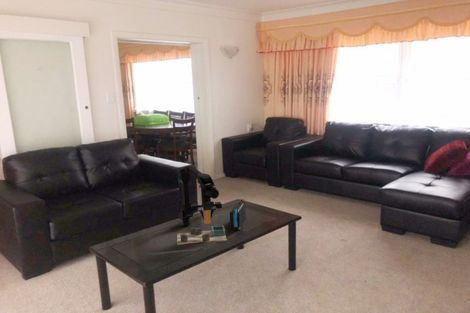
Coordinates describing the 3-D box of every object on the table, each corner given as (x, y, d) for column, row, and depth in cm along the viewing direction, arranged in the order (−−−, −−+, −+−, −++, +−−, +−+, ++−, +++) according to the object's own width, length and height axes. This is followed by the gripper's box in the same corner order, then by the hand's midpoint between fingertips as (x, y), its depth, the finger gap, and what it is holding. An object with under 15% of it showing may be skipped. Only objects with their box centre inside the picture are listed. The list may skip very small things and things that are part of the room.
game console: (238, 232, 238) (237, 211, 235) (228, 231, 239) (227, 210, 236) (247, 217, 264) (246, 198, 262) (238, 217, 266) (238, 197, 263)
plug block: (204, 221, 231) (203, 207, 230) (210, 221, 232) (209, 207, 230) (204, 223, 227) (203, 209, 226) (210, 223, 228) (210, 209, 226)
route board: (177, 235, 237) (176, 227, 236) (223, 230, 241) (223, 223, 240) (177, 246, 220) (176, 238, 220) (226, 241, 225) (226, 233, 224)
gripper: (191, 200, 217) (192, 225, 220) (222, 197, 220) (223, 222, 223) (190, 195, 228) (192, 219, 231) (220, 192, 231) (221, 216, 234)
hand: (207, 219), depth 229 cm, fingers closed on plug block, 4 cm apart
